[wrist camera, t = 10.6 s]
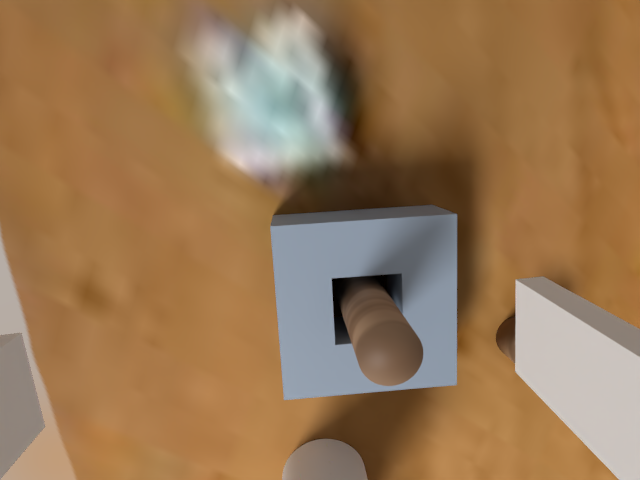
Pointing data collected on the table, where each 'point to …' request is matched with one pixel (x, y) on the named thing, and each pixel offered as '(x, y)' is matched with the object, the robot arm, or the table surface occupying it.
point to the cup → (325, 462)
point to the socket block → (353, 261)
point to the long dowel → (378, 331)
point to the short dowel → (507, 337)
